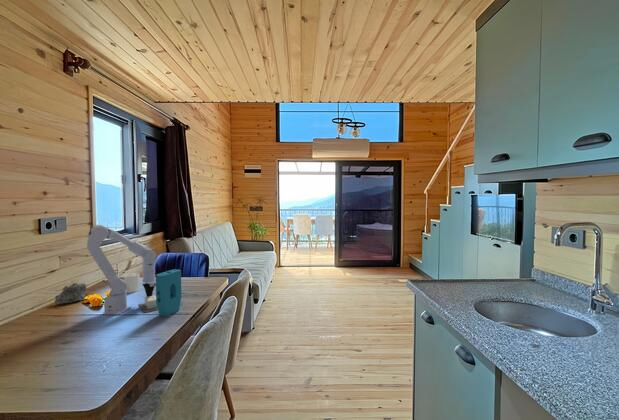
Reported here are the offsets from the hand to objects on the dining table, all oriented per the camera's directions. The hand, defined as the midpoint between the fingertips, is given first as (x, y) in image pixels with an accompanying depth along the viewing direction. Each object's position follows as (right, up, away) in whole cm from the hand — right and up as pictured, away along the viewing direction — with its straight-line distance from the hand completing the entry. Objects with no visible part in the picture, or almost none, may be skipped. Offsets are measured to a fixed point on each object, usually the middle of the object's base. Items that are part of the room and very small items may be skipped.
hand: (149, 296), depth 156 cm
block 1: (+3, -2, -4) cm, 5 cm away
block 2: (+16, -4, -12) cm, 21 cm away
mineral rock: (-44, -4, +4) cm, 44 cm away
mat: (+4, -4, -4) cm, 7 cm away
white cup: (-22, -3, +22) cm, 31 cm away
